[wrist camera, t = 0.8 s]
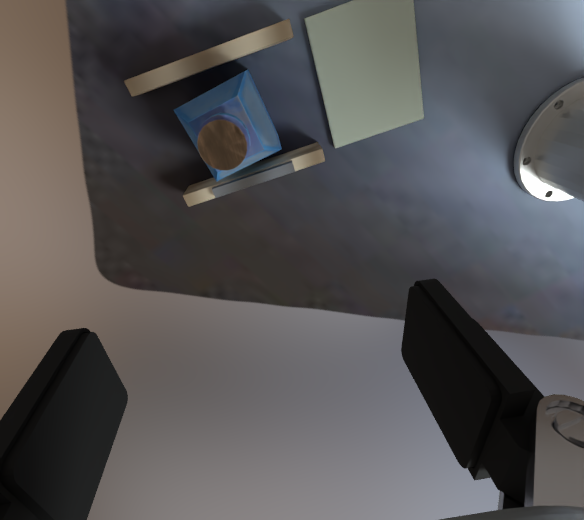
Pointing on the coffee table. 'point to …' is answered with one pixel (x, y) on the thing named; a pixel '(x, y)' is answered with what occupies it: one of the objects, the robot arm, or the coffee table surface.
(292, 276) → the coffee table surface
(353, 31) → the mat
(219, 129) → the perfume bottle
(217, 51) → the cradle
